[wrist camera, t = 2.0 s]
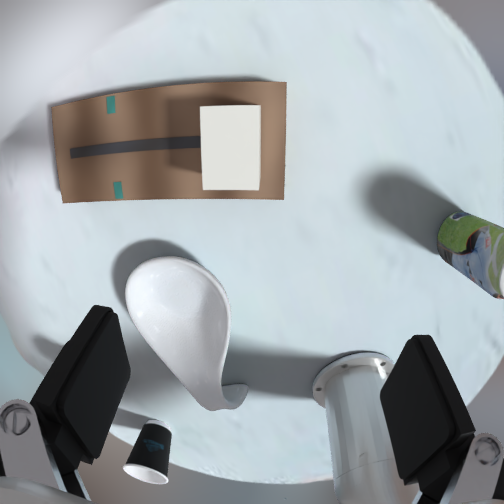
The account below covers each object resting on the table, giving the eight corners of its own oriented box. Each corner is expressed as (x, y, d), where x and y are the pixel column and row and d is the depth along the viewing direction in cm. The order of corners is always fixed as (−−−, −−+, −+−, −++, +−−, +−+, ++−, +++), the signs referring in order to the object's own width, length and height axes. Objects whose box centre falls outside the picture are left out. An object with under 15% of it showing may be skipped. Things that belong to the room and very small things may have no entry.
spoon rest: (119, 258, 34) (91, 293, 28) (212, 230, 32) (197, 264, 25) (199, 391, 44) (190, 429, 37) (275, 381, 42) (274, 422, 35)
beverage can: (427, 258, 32) (478, 323, 21) (439, 195, 28) (505, 245, 18) (468, 257, 31) (522, 315, 20) (481, 199, 28) (548, 245, 17)
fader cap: (260, 105, 23) (259, 105, 19) (260, 177, 26) (258, 190, 22) (210, 106, 23) (200, 106, 19) (212, 177, 26) (202, 189, 22)
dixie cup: (151, 436, 52) (138, 481, 42) (130, 414, 49) (113, 462, 39) (186, 436, 51) (176, 486, 41) (167, 414, 47) (152, 467, 37)
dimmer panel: (284, 84, 25) (286, 82, 22) (282, 190, 29) (283, 200, 27) (68, 105, 26) (50, 107, 23) (77, 194, 30) (62, 203, 28)
